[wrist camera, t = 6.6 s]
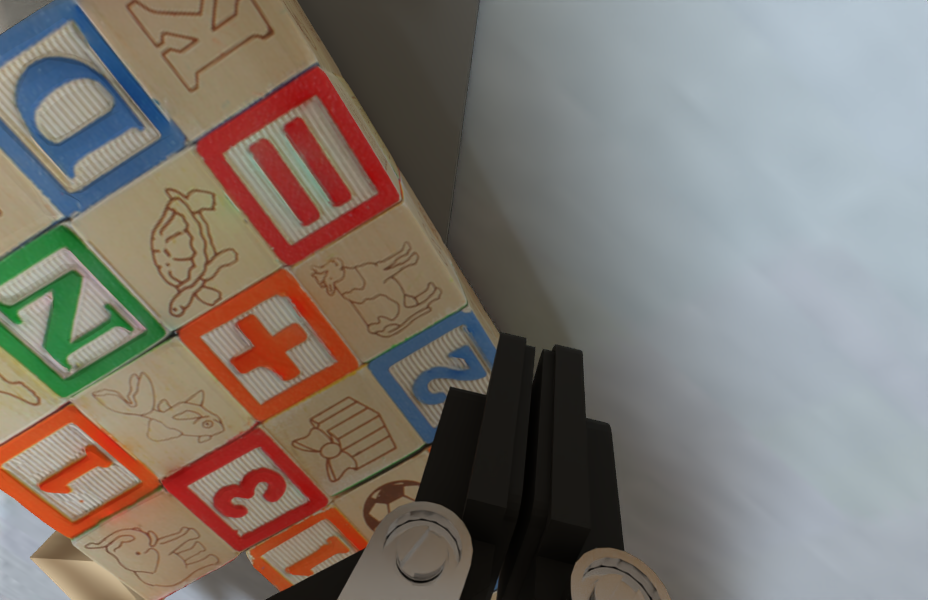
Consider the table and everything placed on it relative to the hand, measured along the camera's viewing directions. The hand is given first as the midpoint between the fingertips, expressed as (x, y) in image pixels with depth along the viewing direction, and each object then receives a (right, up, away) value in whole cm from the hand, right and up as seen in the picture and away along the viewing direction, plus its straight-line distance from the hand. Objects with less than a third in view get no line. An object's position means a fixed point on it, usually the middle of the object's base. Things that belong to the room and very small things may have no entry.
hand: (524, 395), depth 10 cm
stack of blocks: (-1, +2, +5) cm, 5 cm away
